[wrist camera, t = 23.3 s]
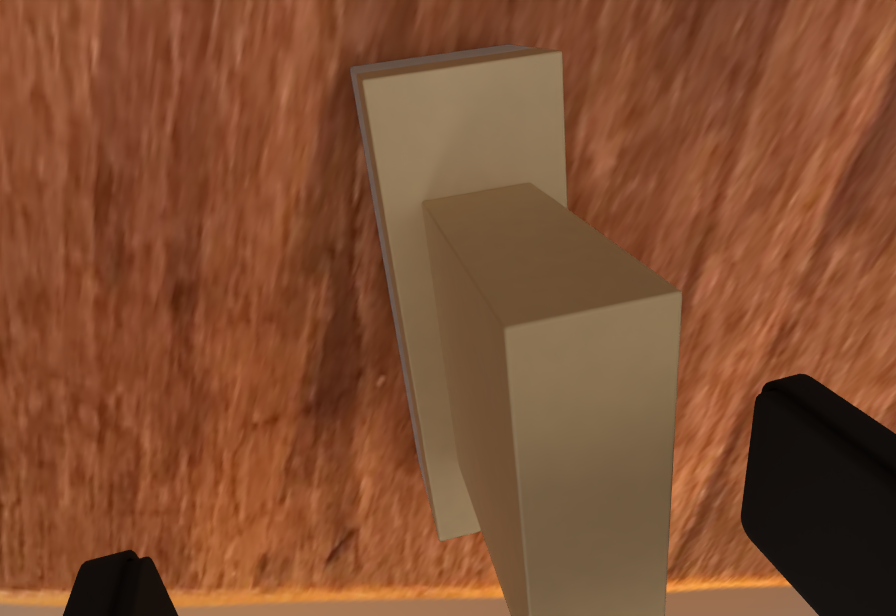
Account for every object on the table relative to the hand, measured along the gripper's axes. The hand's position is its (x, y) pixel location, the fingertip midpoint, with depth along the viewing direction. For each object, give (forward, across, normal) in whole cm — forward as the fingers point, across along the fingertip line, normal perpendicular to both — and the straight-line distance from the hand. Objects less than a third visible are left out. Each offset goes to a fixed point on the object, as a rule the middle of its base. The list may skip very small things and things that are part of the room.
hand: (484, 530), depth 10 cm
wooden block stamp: (+9, -2, 0) cm, 9 cm away
